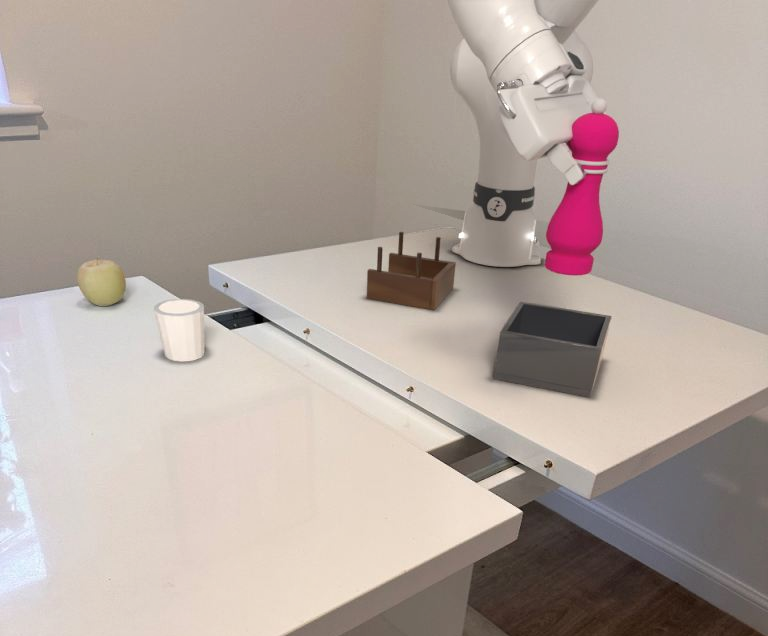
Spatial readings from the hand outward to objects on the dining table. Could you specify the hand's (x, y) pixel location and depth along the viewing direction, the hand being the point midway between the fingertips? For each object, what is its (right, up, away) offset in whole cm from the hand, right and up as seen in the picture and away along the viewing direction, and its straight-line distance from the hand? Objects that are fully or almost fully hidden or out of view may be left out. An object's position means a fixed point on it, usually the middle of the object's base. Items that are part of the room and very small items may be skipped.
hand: (590, 177), depth 90 cm
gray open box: (-2, -21, +15) cm, 26 cm away
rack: (-21, -2, +40) cm, 45 cm away
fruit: (-72, -7, +30) cm, 78 cm away
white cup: (-55, -19, +14) cm, 60 cm away
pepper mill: (-1, -9, +7) cm, 12 cm away
